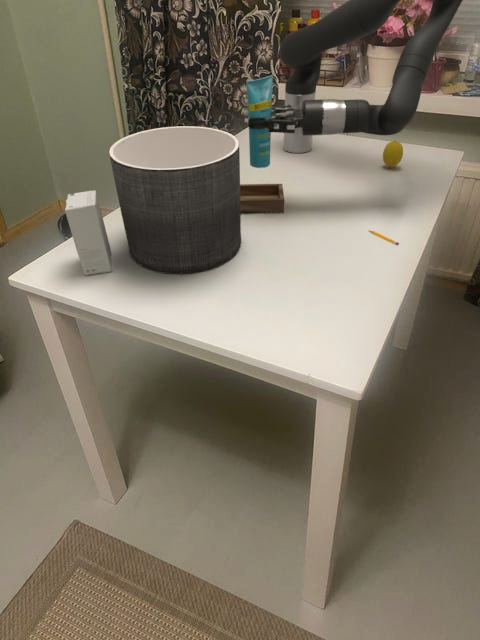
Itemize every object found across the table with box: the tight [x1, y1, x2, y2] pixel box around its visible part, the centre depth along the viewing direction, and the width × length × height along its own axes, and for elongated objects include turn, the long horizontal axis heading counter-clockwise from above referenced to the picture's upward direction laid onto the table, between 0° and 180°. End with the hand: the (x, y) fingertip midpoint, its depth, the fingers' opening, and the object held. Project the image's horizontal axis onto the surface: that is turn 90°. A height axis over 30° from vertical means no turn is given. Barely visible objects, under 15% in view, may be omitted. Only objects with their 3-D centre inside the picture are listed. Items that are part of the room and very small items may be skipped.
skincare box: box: [64, 189, 113, 276], centre depth 96 cm, size 8×6×15 cm
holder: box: [240, 183, 285, 215], centre depth 120 cm, size 10×12×4 cm
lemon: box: [382, 139, 404, 169], centre depth 137 cm, size 6×6×8 cm
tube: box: [246, 75, 274, 169], centre depth 109 cm, size 7×5×19 cm, turn 134°
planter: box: [108, 125, 242, 275], centre depth 99 cm, size 25×25×22 cm
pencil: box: [368, 229, 400, 246], centre depth 107 cm, size 1×8×1 cm, turn 37°
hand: (248, 120), depth 108 cm, fingers closed on tube, 4 cm apart
